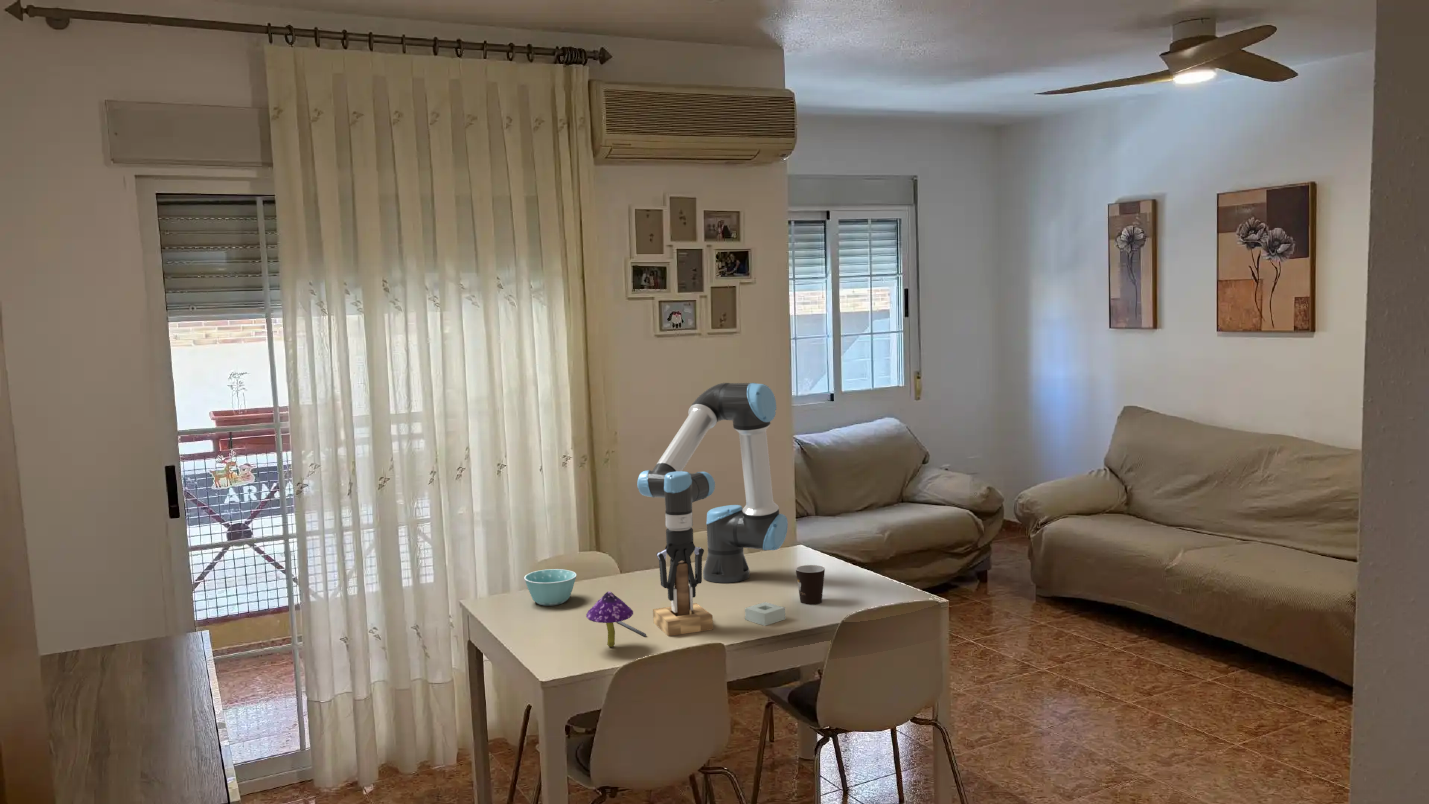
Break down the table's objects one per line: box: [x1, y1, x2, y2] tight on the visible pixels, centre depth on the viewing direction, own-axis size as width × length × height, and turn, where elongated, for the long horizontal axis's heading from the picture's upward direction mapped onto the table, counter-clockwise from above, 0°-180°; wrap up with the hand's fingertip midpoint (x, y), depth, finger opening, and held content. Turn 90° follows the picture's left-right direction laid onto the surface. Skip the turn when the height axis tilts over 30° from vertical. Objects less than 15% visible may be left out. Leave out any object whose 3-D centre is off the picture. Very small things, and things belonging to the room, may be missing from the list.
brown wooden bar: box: [674, 561, 690, 616], centre depth 298 cm, size 4×4×16 cm
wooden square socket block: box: [652, 602, 714, 637], centre depth 298 cm, size 13×13×4 cm
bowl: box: [523, 568, 578, 607], centre depth 326 cm, size 16×16×8 cm
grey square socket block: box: [744, 601, 786, 627], centre depth 302 cm, size 8×8×3 cm
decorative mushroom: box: [585, 591, 634, 648], centre depth 282 cm, size 12×12×15 cm
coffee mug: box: [795, 564, 826, 606], centre depth 319 cm, size 12×9×10 cm
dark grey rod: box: [616, 621, 647, 637], centre depth 297 cm, size 17×1×1 cm, turn 33°
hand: (682, 609), depth 298 cm, fingers closed on brown wooden bar, 4 cm apart
